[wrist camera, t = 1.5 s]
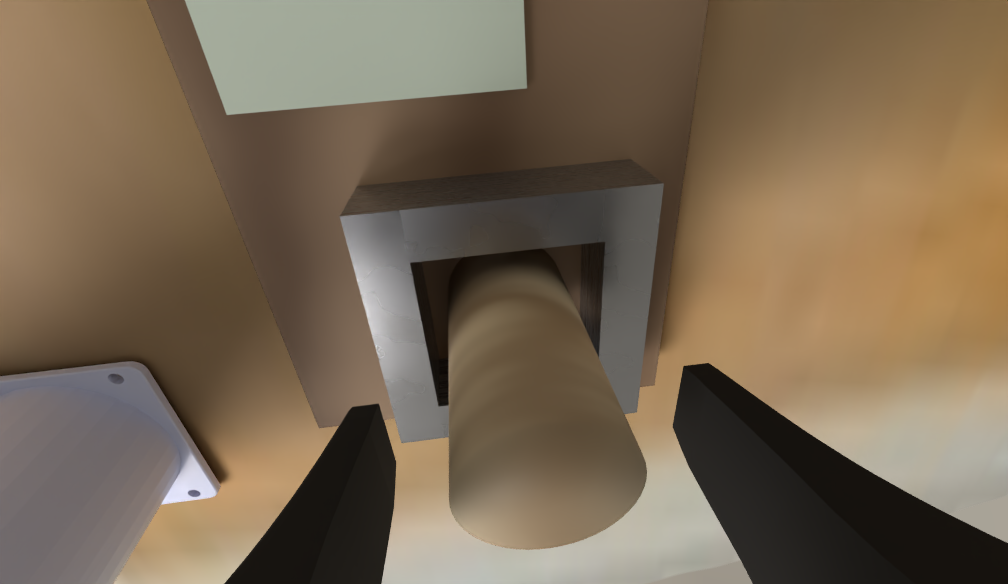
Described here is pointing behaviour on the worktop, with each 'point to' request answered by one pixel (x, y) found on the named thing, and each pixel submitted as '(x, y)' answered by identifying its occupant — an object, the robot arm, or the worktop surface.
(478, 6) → the pad
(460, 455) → the maple peg
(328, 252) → the walnut board
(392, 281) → the grey square frame
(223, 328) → the worktop surface
